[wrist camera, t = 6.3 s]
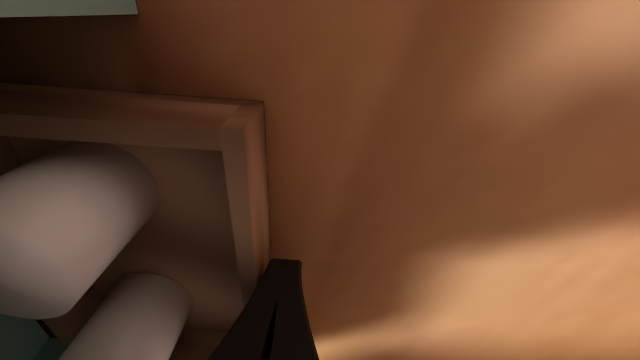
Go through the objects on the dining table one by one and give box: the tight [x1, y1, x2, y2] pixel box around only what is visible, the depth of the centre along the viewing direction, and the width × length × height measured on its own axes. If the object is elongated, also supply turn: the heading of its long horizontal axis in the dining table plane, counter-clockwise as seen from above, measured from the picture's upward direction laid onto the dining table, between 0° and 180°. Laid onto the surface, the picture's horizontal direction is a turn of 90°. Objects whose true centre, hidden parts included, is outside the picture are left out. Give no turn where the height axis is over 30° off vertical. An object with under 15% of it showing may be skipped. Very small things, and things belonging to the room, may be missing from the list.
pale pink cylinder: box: [0, 141, 160, 319], centre depth 8 cm, size 4×4×4 cm
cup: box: [58, 273, 193, 360], centre depth 12 cm, size 4×4×4 cm
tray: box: [0, 83, 271, 360], centre depth 11 cm, size 13×9×2 cm
